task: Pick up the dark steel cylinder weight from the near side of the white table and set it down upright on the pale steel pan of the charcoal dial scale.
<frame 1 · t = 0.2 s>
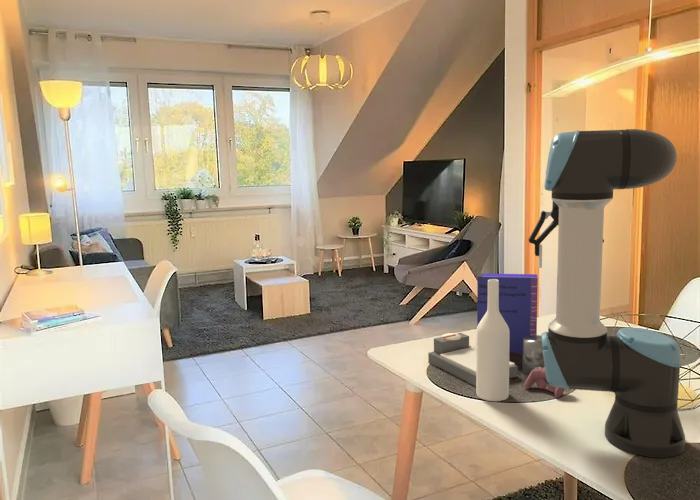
hand: (564, 267, 167), 27 cm above the table, fingers open, 13 cm apart
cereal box: (506, 351, 179), on the table
bottle: (492, 395, 147), on the table
coffee cup: (580, 348, 179), on the table
video game controller: (545, 391, 149), on the table
steel weight: (537, 370, 162), on the table
platform scale: (471, 369, 165), on the table
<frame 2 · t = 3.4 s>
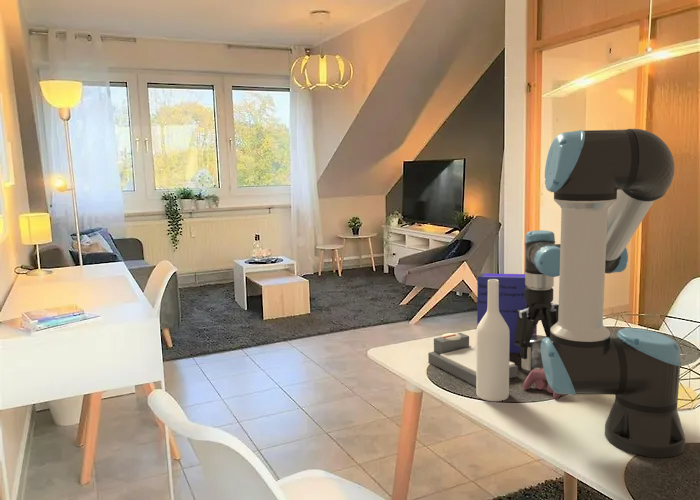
hand: (537, 365, 162), 1 cm above the table, fingers closed on steel weight, 8 cm apart
steel weight: (537, 370, 162), on the table, touching gripper
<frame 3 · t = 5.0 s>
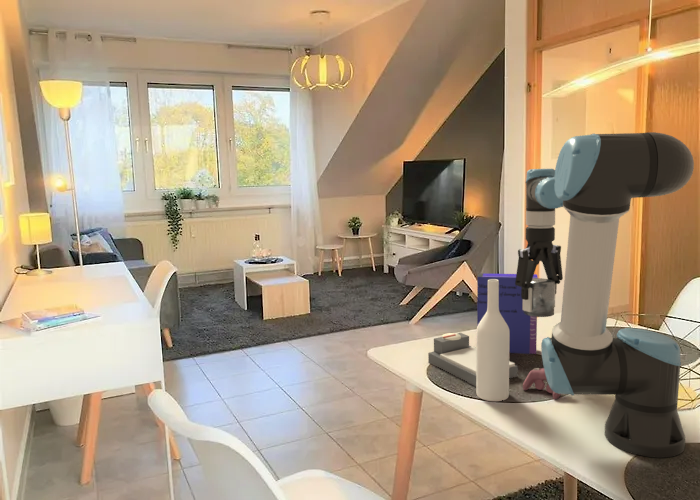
hand: (538, 308, 159), 18 cm above the table, fingers closed on steel weight, 8 cm apart
steel weight: (538, 313, 159), point 17 cm above the table, touching gripper
everything else where it was.
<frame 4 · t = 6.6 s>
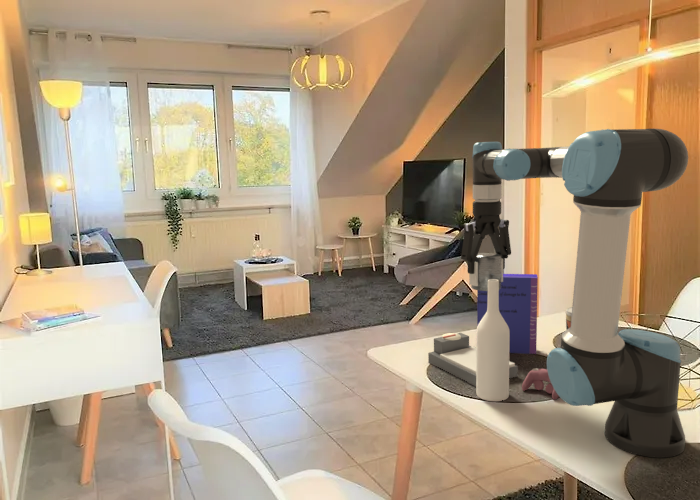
hand: (486, 282, 159), 26 cm above the table, fingers closed on steel weight, 8 cm apart
steel weight: (486, 287, 159), point 24 cm above the table, touching gripper
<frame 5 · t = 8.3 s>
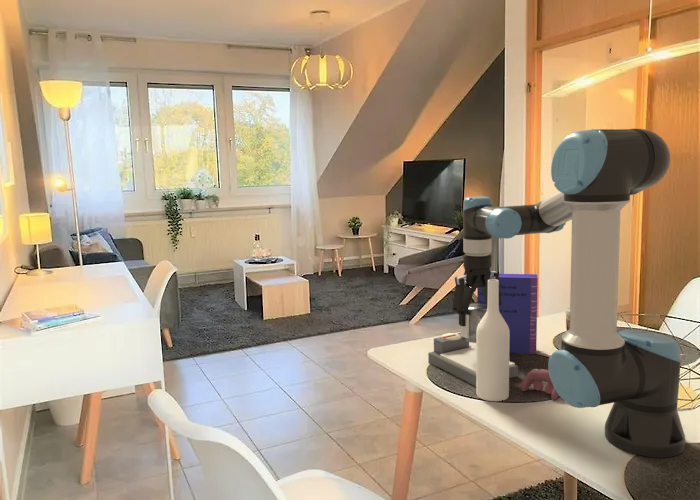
hand: (477, 334, 161), 11 cm above the table, fingers closed on steel weight, 8 cm apart
steel weight: (477, 338, 161), point 10 cm above the table, touching gripper
when the fingers open (5 cm above the table, at t = 10.0 s): steel weight stays where it is, resting on platform scale.
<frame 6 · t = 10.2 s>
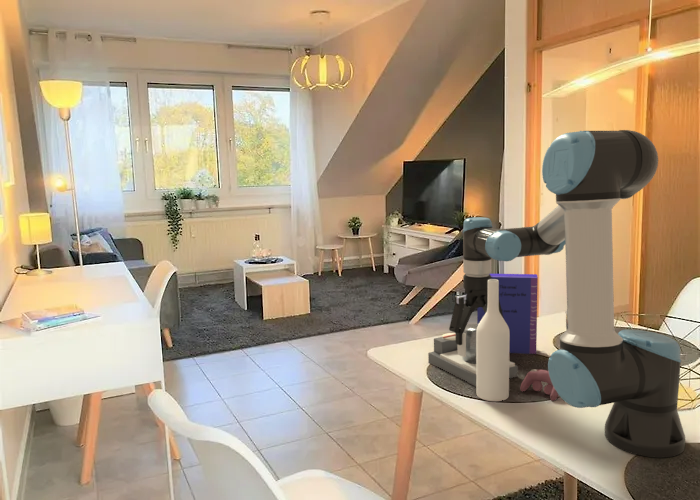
hand: (477, 351, 162), 6 cm above the table, fingers open, 10 cm apart
steel weight: (477, 359, 162), point 4 cm above the table, touching platform scale
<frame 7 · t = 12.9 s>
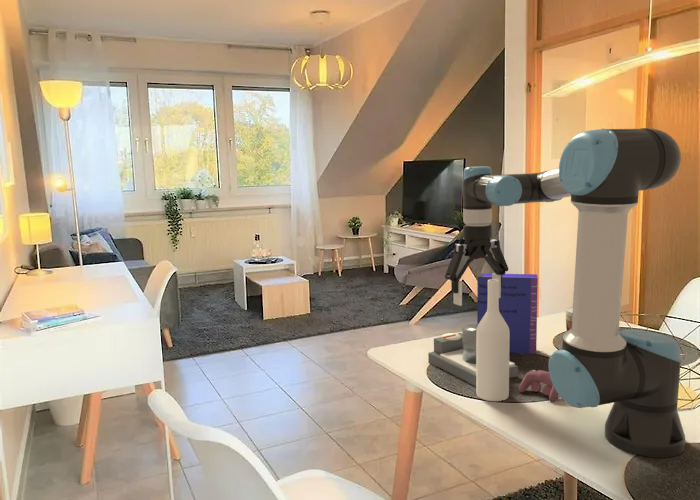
hand: (477, 300, 159), 21 cm above the table, fingers open, 13 cm apart
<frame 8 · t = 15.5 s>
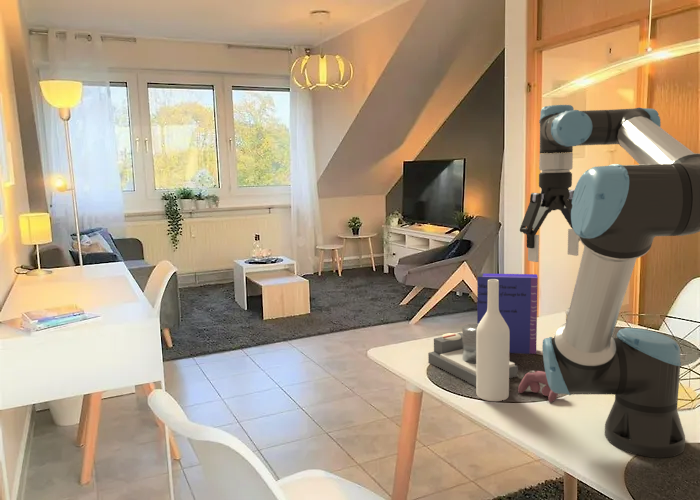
hand: (553, 258, 143), 35 cm above the table, fingers open, 13 cm apart
at the end: steel weight inside the target area on the platform scale (0.1 cm from its centre), point 3.8 cm above the platform scale's base; steel weight tilted 1°; the gripper is holding nothing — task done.
